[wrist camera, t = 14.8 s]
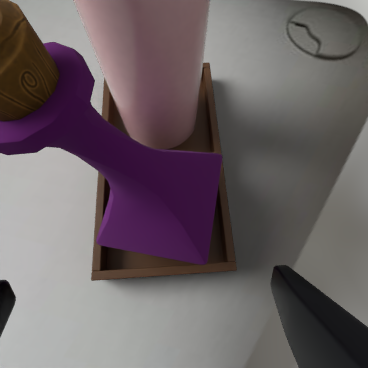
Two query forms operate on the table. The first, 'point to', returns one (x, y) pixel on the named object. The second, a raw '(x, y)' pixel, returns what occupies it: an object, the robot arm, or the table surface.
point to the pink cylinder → (150, 63)
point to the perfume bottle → (103, 148)
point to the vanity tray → (221, 231)
